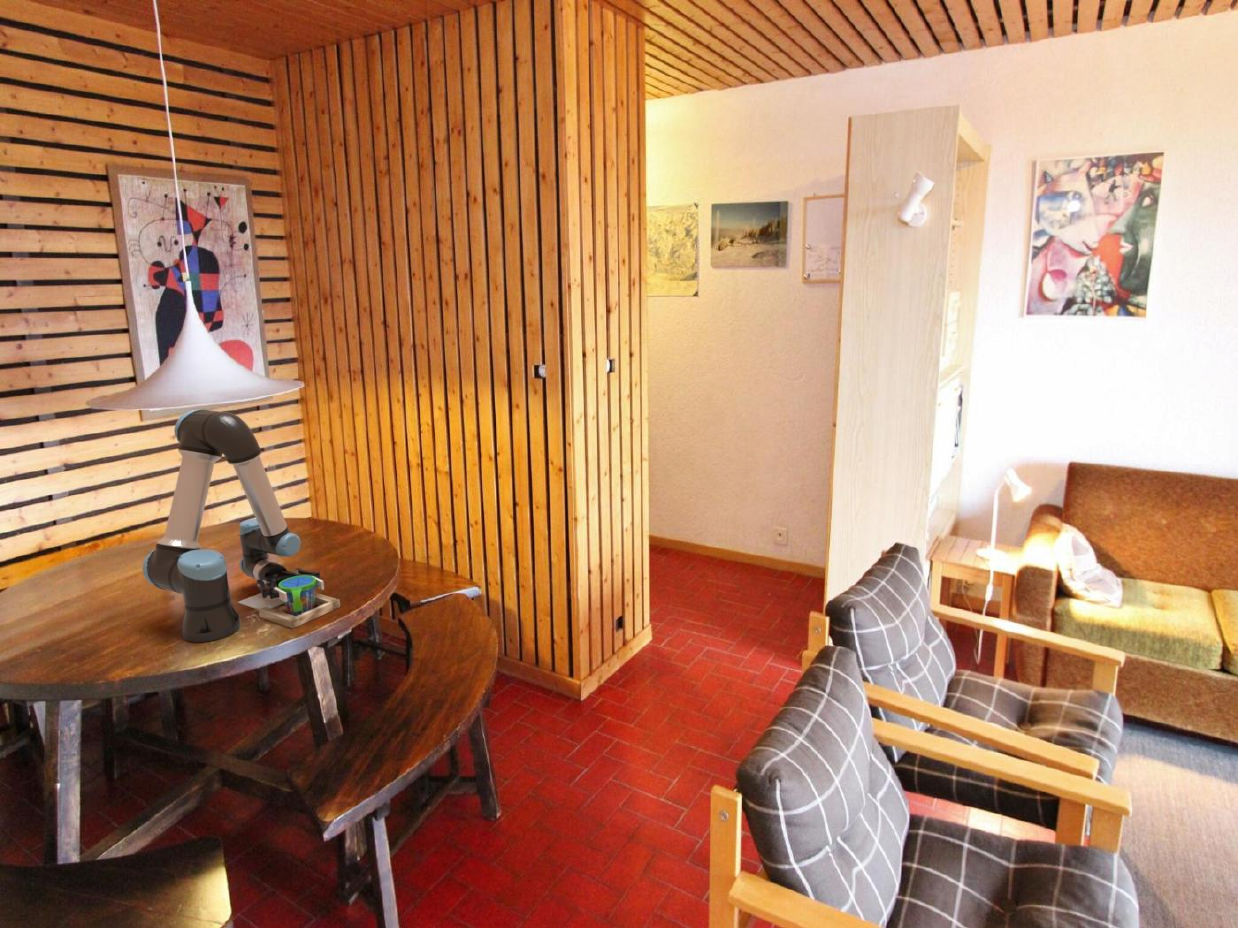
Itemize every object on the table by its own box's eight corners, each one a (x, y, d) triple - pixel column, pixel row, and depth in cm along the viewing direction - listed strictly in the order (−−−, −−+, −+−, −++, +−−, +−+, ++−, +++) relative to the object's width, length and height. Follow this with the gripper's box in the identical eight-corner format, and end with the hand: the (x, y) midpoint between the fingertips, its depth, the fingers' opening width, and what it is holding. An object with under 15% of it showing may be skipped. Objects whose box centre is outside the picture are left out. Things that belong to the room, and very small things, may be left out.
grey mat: (263, 611, 231) (263, 610, 231) (237, 603, 238) (237, 601, 238) (300, 596, 242) (299, 595, 242) (274, 588, 249) (274, 587, 248)
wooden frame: (292, 628, 220) (291, 620, 219) (259, 617, 227) (258, 609, 227) (340, 607, 234) (339, 599, 233) (307, 597, 242) (306, 589, 241)
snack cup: (287, 603, 237) (283, 573, 234) (322, 600, 239) (319, 570, 237) (277, 625, 222) (273, 593, 220) (315, 621, 224) (311, 589, 222)
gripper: (307, 573, 250) (341, 590, 236) (234, 596, 232) (267, 615, 218) (304, 552, 248) (339, 568, 234) (231, 573, 231) (264, 591, 217)
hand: (304, 591), depth 226 cm, fingers closed on snack cup, 11 cm apart
